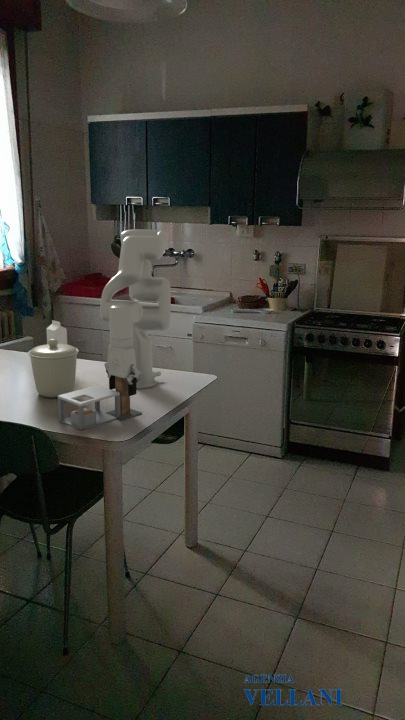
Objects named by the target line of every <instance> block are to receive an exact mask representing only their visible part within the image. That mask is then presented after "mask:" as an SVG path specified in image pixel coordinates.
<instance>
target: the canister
mask: <svg viewBox="0 0 405 720" xmlns="http://www.w3.org/2000/svg"><path fill="white" fill-rule="evenodd" d="M79 351H80V350H79V349H78V348H77V347H74V346H73V345H70V344H68V343H67V344H58V341H57V340H56V339H50V340H49V341H48V344H47V343H46V344H42V345H37V346H35V347H33V348H31V349H30V350H29V351H28V352H27V355H28V356H29V357H30V358H29V359H30V362H31V363H30V364H31V368H32V369H31V370H32V374H33V379H34V385H35V389H36V391H37V393H38V395H40V396H41V397H45V398H50V399H52V398H57V399H58V395H62V394H65V393H69V392H73V391H74V389H75V384H76V372H77V356H78V353H79Z"/></svg>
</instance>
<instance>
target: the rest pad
mask: <svg viewBox="0 0 405 720" xmlns="http://www.w3.org/2000/svg"><path fill="white" fill-rule="evenodd" d="M108 412H109V413H108ZM107 413H108V414H109V415H110V413H112V414H111V416H115V415H114V414H115V409H112V410H109V411H107ZM142 414H143V412H142V411H138V410H135V409H133V408H130V413H128V414H125V415H120V417H117V419H116V420H119V421H125V420H127V419H128V420H129V419H131V418H134V417H136V416H139V415H142Z"/></svg>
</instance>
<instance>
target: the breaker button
mask: <svg viewBox="0 0 405 720" xmlns="http://www.w3.org/2000/svg"><path fill="white" fill-rule="evenodd" d="M90 410H91V409H89V408H87V407H84V415H85V414H89V413H91V412H90ZM75 411H76V413H77V414H78V408H77V409H75Z"/></svg>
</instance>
